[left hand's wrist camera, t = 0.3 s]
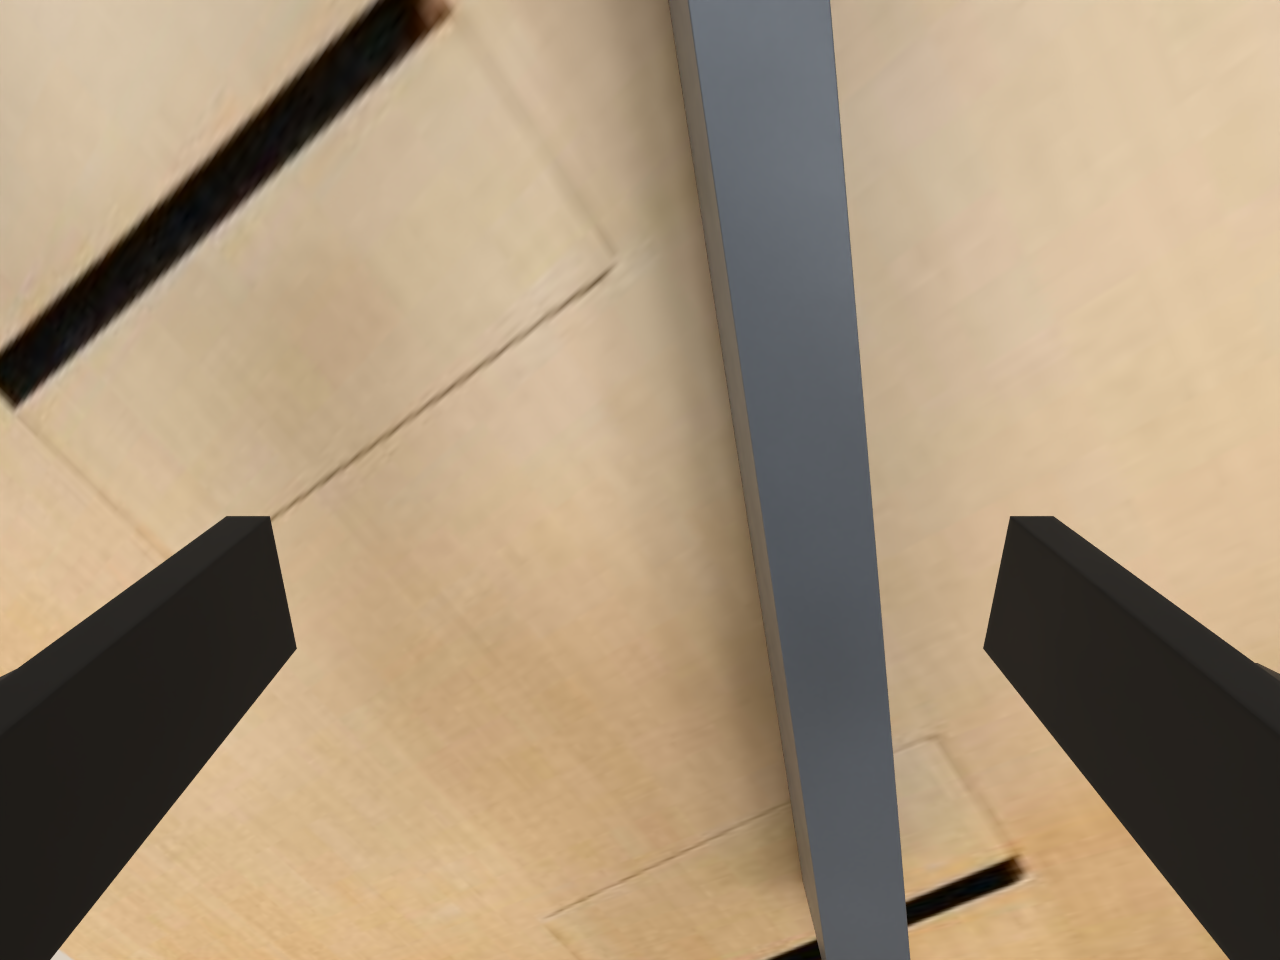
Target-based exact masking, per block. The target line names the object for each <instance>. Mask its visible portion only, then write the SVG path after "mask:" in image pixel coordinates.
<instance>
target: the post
mask: <svg viewBox="0 0 1280 960" xmlns="http://www.w3.org/2000/svg"><path fill="white" fill-rule="evenodd" d="M668 1H669V7H670V14H671V20H672V27H673V33H674V40H675V47H676V53H677V60H678V66H679V73H680V79H681V86H682V92H683V99H684V106H685V112H686V119H687V125H688V132H689V138H690V145H691V151H692V158H693V165H694V171H695V178H696V184H697V191H698V197H699V204H700V210H701V217H702V224H703V230H704V237H705V243H706V250H707V256H708V263H709V269H710V276H711V283H712V289H713V296H714V302H715V309H716V315H717V322H718V328H719V335H720V342H721V348H722V355H723V361H724V368H725V374H726V381H727V387H728V394H729V401H730V407H731V414H732V420H733V427H734V433H735V440H736V446H737V453H738V460H739V466H740V473H741V479H742V486H743V492H744V499H745V505H746V512H747V519H748V525H749V532H750V538H751V545H752V551H753V558H754V564H755V571H756V578H757V584H758V591H759V597H760V604H761V610H762V617H763V623H764V630H765V637H766V643H767V650H768V656H769V663H770V669H771V676H772V682H773V689H774V696H775V702H776V709H777V715H778V722H779V728H780V735H781V741H782V748H783V755H784V761H785V768H786V774H787V781H788V787H789V794H790V800H791V807H792V814H793V820H794V827H795V833H796V840H797V846H798V853H799V859H800V866H801V873H802V879H803V884H804V888H805V892H806V896H807V900H808V904H809V909H810V913H811V917H812V921H813V925H814V929H815V933H816V937H817V941H818V945H819V949H820V953H821V958H822V960H910V952H909V940H908V928H907V916H906V904H905V892H904V880H903V868H902V856H901V844H900V832H899V820H898V808H897V796H896V784H895V772H894V760H893V748H892V737H891V725H890V713H889V701H888V689H887V677H886V665H885V653H884V641H883V629H882V617H881V605H880V593H879V581H878V569H877V557H876V545H875V533H874V521H873V509H872V497H871V485H870V473H869V461H868V449H867V437H866V425H865V413H864V402H863V390H862V378H861V366H860V354H859V342H858V330H857V318H856V306H855V294H854V282H853V270H852V258H851V246H850V234H849V222H848V210H847V198H846V186H845V174H844V162H843V150H842V138H841V126H840V114H839V102H838V90H837V78H836V67H835V55H834V43H833V31H832V19H831V7H830V0H668Z"/></svg>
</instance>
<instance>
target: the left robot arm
mask: <svg viewBox="0 0 1280 960" xmlns="http://www.w3.org/2000/svg"><path fill="white" fill-rule="evenodd" d="M296 649H297V648H296V643H295V638H294V633H293V628H292V623H291V618H290V613H289V608H288V603H287V598H286V594H285V589H284V584H283V579H282V574H281V569H280V564H279V559H278V554H277V549H276V544H275V540H274V535H273V530H272V525H271V520H270V516H226V517H225V518H224V519H222V520H221V521H219V522H218V523H217V524H215V525H214V526H213V527H211V528H210V529H208V530H207V531H206V532H204V533H203V534H202V535H200V536H199V537H197V538H196V539H195V540H193V541H192V542H191V543H189V544H188V545H186V546H185V547H184V548H182V549H181V550H180V551H178V552H177V553H175V554H174V555H173V556H171V557H170V558H169V559H167V560H166V561H164V562H163V563H162V564H160V565H159V566H158V567H156V568H155V569H154V570H152V571H151V572H149V573H148V574H147V575H145V576H144V577H143V578H141V579H140V580H138V581H137V582H136V583H134V584H133V585H132V586H130V587H129V588H127V589H126V590H125V591H123V592H122V593H121V594H119V595H118V596H116V597H115V598H114V599H112V600H111V601H110V602H108V603H107V604H105V605H104V606H103V607H101V608H100V609H99V610H97V611H96V612H94V613H93V614H92V615H90V616H89V617H88V618H86V619H85V620H83V621H82V622H81V623H79V624H78V625H77V626H75V627H74V628H73V629H71V630H70V631H68V632H67V633H66V634H64V635H63V636H62V637H60V638H59V639H57V640H56V641H55V642H53V643H52V644H51V645H49V646H48V647H46V648H45V649H44V650H42V651H41V652H40V653H38V654H37V655H35V656H34V657H33V658H31V659H30V660H29V661H27V662H26V663H24V664H23V665H22V666H20V667H19V668H18V669H16V670H14V671H12V672H10V673H8V674H6V675H3V676H1V677H0V960H50V959H51V958H52V957H53V956H54V954H55V953H56V952H57V950H58V949H59V948H60V947H61V946H62V944H63V943H64V942H65V940H66V939H67V938H68V937H69V935H70V934H71V933H72V932H73V930H74V929H75V928H76V927H77V925H78V924H79V923H80V922H81V920H82V919H83V918H84V916H85V915H86V914H87V913H88V911H89V910H90V909H91V908H92V906H93V905H94V904H95V903H96V901H97V900H98V899H99V898H100V896H101V895H102V894H103V892H104V891H105V890H106V889H107V887H108V886H109V885H110V884H111V882H112V881H113V880H114V879H115V877H116V876H117V875H118V874H119V872H120V871H121V870H122V868H123V867H124V866H125V865H126V863H127V862H128V861H129V860H130V858H131V857H132V856H133V855H134V853H135V852H136V851H137V850H138V848H139V847H140V846H141V845H142V843H143V842H144V841H145V839H146V838H147V837H148V836H149V834H150V833H151V832H152V831H153V829H154V828H155V827H156V826H157V824H158V823H159V822H160V821H161V819H162V818H163V817H164V815H165V814H166V813H167V812H168V810H169V809H170V808H171V807H172V805H173V804H174V803H175V802H176V800H177V799H178V798H179V797H180V795H181V794H182V793H183V791H184V790H185V789H186V788H187V786H188V785H189V784H190V783H191V781H192V780H193V779H194V778H195V776H196V775H197V774H198V773H199V771H200V770H201V769H202V767H203V766H204V765H205V764H206V762H207V761H208V760H209V759H210V757H211V756H212V755H213V754H214V752H215V751H216V750H217V749H218V747H219V746H220V745H221V744H222V742H223V741H224V740H225V738H226V737H227V736H228V735H229V733H230V732H231V731H232V730H233V728H234V727H235V726H236V725H237V723H238V722H239V721H240V720H241V718H242V717H243V716H244V714H245V713H246V712H247V711H248V709H249V708H250V707H251V706H252V704H253V703H254V702H255V701H256V699H257V698H258V697H259V696H260V694H261V693H262V692H263V690H264V689H265V688H266V687H267V685H268V684H269V683H270V682H271V680H272V679H273V678H274V677H275V675H276V674H277V673H278V672H279V670H280V669H281V668H282V666H283V665H284V664H285V663H286V661H287V660H288V659H289V658H290V656H291V655H292V654H293V653H294V651H295V650H296ZM983 649H984V650H985V651H986V653H987V654H988V655H989V656H990V658H991V659H992V660H993V661H994V663H995V664H996V665H997V666H998V668H999V669H1000V670H1001V672H1002V673H1003V674H1004V675H1005V677H1006V678H1007V679H1008V680H1009V682H1010V683H1011V684H1012V685H1013V687H1014V688H1015V689H1016V690H1017V692H1018V693H1019V694H1020V696H1021V697H1022V698H1023V699H1024V701H1025V702H1026V703H1027V704H1028V706H1029V707H1030V708H1031V709H1032V711H1033V712H1034V713H1035V714H1036V716H1037V717H1038V718H1039V720H1040V721H1041V722H1042V723H1043V725H1044V726H1045V727H1046V728H1047V730H1048V731H1049V732H1050V733H1051V735H1052V736H1053V737H1054V738H1055V740H1056V741H1057V742H1058V744H1059V745H1060V746H1061V747H1062V749H1063V750H1064V751H1065V752H1066V754H1067V755H1068V756H1069V757H1070V759H1071V760H1072V761H1073V762H1074V764H1075V765H1076V766H1077V768H1078V769H1079V770H1080V771H1081V773H1082V774H1083V775H1084V776H1085V778H1086V779H1087V780H1088V781H1089V783H1090V784H1091V785H1092V786H1093V788H1094V789H1095V790H1096V791H1097V793H1098V794H1099V795H1100V797H1101V798H1102V799H1103V800H1104V802H1105V803H1106V804H1107V805H1108V807H1109V808H1110V809H1111V810H1112V812H1113V813H1114V814H1115V815H1116V817H1117V818H1118V819H1119V821H1120V822H1121V823H1122V824H1123V826H1124V827H1125V828H1126V829H1127V831H1128V832H1129V833H1130V834H1131V836H1132V837H1133V838H1134V839H1135V841H1136V842H1137V843H1138V845H1139V846H1140V847H1141V848H1142V850H1143V851H1144V852H1145V853H1146V855H1147V856H1148V857H1149V858H1150V860H1151V861H1152V862H1153V863H1154V865H1155V866H1156V867H1157V869H1158V870H1159V871H1160V872H1161V874H1162V875H1163V876H1164V877H1165V879H1166V880H1167V881H1168V882H1169V884H1170V885H1171V886H1172V887H1173V889H1174V890H1175V891H1176V892H1177V894H1178V895H1179V896H1180V898H1181V899H1182V900H1183V901H1184V903H1185V904H1186V905H1187V906H1188V908H1189V909H1190V910H1191V911H1192V913H1193V914H1194V915H1195V916H1196V918H1197V919H1198V920H1199V922H1200V923H1201V924H1202V925H1203V927H1204V928H1205V929H1206V930H1207V932H1208V933H1209V934H1210V935H1211V937H1212V938H1213V939H1214V940H1215V942H1216V943H1217V944H1218V946H1219V947H1220V948H1221V949H1222V951H1223V952H1224V953H1225V954H1226V956H1227V957H1228V958H1229V959H1230V960H1280V674H1279V673H1277V672H1275V671H1273V670H1271V669H1268V668H1266V667H1264V666H1262V665H1260V664H1258V663H1254V662H1253V661H1251V660H1250V659H1249V658H1247V657H1246V656H1245V655H1243V654H1242V653H1240V652H1239V651H1238V650H1236V649H1235V648H1234V647H1232V646H1231V645H1229V644H1228V643H1227V642H1225V641H1224V640H1223V639H1221V638H1220V637H1218V636H1217V635H1216V634H1214V633H1213V632H1212V631H1210V630H1209V629H1207V628H1206V627H1205V626H1203V625H1202V624H1201V623H1199V622H1198V621H1196V620H1195V619H1194V618H1192V617H1191V616H1190V615H1188V614H1187V613H1186V612H1184V611H1183V610H1181V609H1180V608H1179V607H1177V606H1176V605H1175V604H1173V603H1172V602H1170V601H1169V600H1168V599H1166V598H1165V597H1164V596H1162V595H1161V594H1159V593H1158V592H1157V591H1155V590H1154V589H1153V588H1151V587H1150V586H1148V585H1147V584H1146V583H1144V582H1143V581H1142V580H1140V579H1139V578H1137V577H1136V576H1135V575H1133V574H1132V573H1131V572H1129V571H1128V570H1126V569H1125V568H1124V567H1122V566H1121V565H1120V564H1118V563H1117V562H1116V561H1114V560H1113V559H1111V558H1110V557H1109V556H1107V555H1106V554H1105V553H1103V552H1102V551H1100V550H1099V549H1098V548H1096V547H1095V546H1094V545H1092V544H1091V543H1089V542H1088V541H1087V540H1085V539H1084V538H1083V537H1081V536H1080V535H1078V534H1077V533H1076V532H1074V531H1073V530H1072V529H1070V528H1069V527H1067V526H1066V525H1065V524H1063V523H1062V522H1061V521H1059V520H1058V519H1056V518H1055V517H1054V516H1010V520H1009V525H1008V530H1007V535H1006V540H1005V544H1004V549H1003V554H1002V559H1001V564H1000V569H999V574H998V579H997V584H996V589H995V594H994V598H993V603H992V608H991V613H990V618H989V623H988V628H987V633H986V638H985V643H984V648H983Z"/></svg>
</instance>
